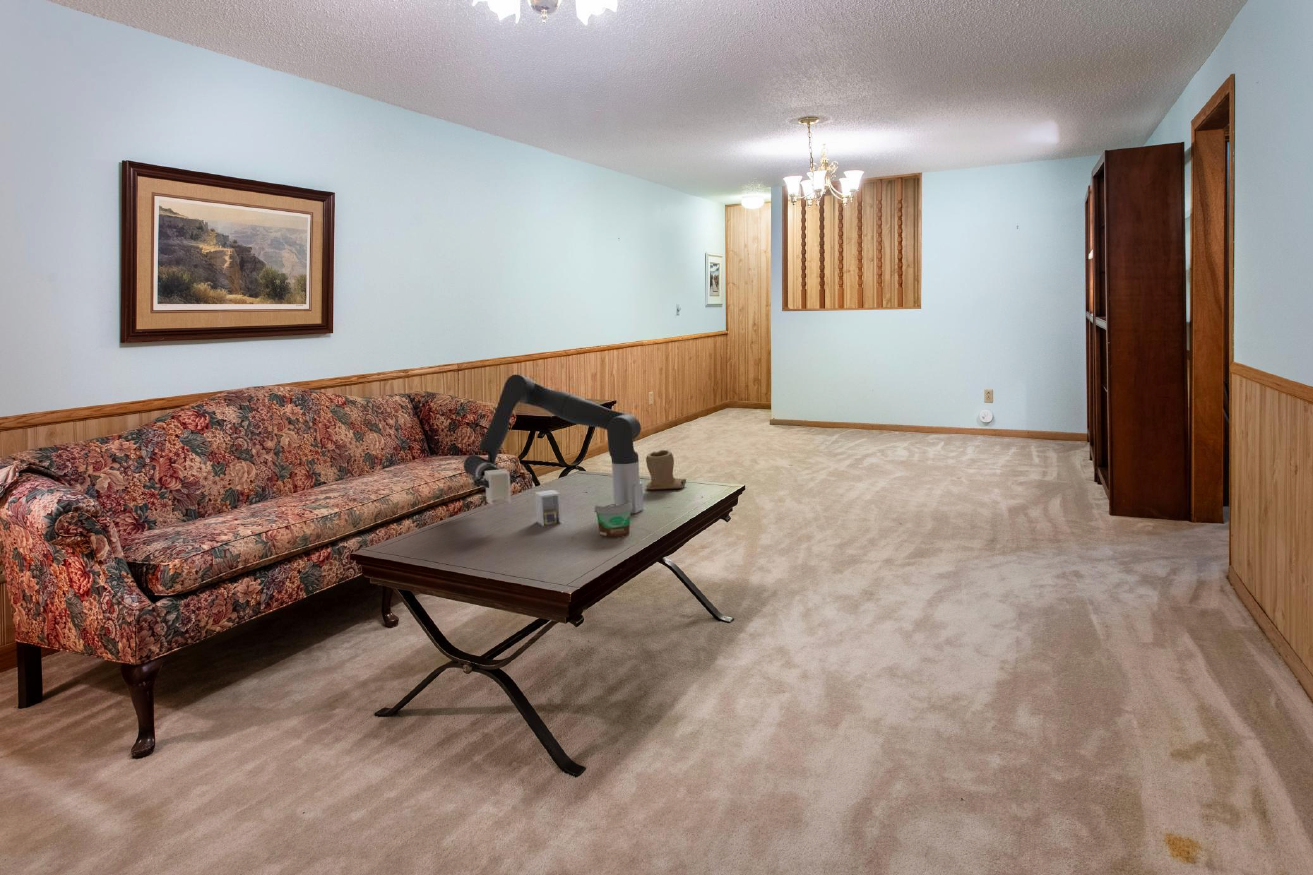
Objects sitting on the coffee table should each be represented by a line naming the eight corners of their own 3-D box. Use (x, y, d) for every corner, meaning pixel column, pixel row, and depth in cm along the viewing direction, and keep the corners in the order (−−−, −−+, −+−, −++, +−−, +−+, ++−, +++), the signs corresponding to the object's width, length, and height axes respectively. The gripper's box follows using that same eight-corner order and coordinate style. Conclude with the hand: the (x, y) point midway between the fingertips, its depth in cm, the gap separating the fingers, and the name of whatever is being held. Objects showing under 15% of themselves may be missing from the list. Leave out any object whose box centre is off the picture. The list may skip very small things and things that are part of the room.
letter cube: (553, 520, 284) (552, 509, 284) (556, 523, 280) (556, 511, 280) (541, 522, 283) (541, 510, 282) (545, 524, 279) (544, 513, 278)
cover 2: (556, 518, 286) (554, 489, 284) (561, 523, 280) (559, 493, 278) (536, 521, 283) (534, 492, 282) (542, 525, 277) (540, 495, 276)
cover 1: (506, 498, 278) (504, 468, 277) (511, 502, 272) (509, 472, 271) (486, 501, 276) (484, 471, 274) (491, 505, 270) (488, 474, 268)
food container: (604, 541, 255) (602, 509, 253) (595, 537, 260) (593, 505, 259) (640, 534, 260) (639, 503, 259) (631, 530, 266) (630, 499, 264)
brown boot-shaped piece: (644, 493, 320) (642, 453, 318) (648, 486, 332) (646, 448, 330) (684, 492, 318) (682, 452, 316) (686, 485, 330) (685, 447, 328)
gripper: (466, 466, 283) (475, 474, 268) (508, 461, 288) (520, 469, 273) (467, 488, 284) (477, 497, 269) (510, 483, 290) (522, 492, 274)
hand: (499, 483), depth 271 cm, fingers closed on cover 1, 6 cm apart
